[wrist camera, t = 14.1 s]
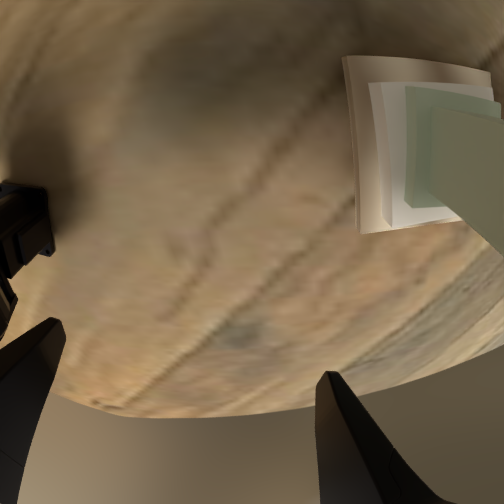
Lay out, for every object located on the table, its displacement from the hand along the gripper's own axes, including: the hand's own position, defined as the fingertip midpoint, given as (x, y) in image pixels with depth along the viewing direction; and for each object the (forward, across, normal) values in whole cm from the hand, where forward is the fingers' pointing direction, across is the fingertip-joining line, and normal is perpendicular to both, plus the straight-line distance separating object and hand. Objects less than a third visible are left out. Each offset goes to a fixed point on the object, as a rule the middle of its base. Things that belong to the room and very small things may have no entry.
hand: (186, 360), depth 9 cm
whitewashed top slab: (+12, -13, -8) cm, 19 cm away
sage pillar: (+10, -13, -8) cm, 18 cm away
